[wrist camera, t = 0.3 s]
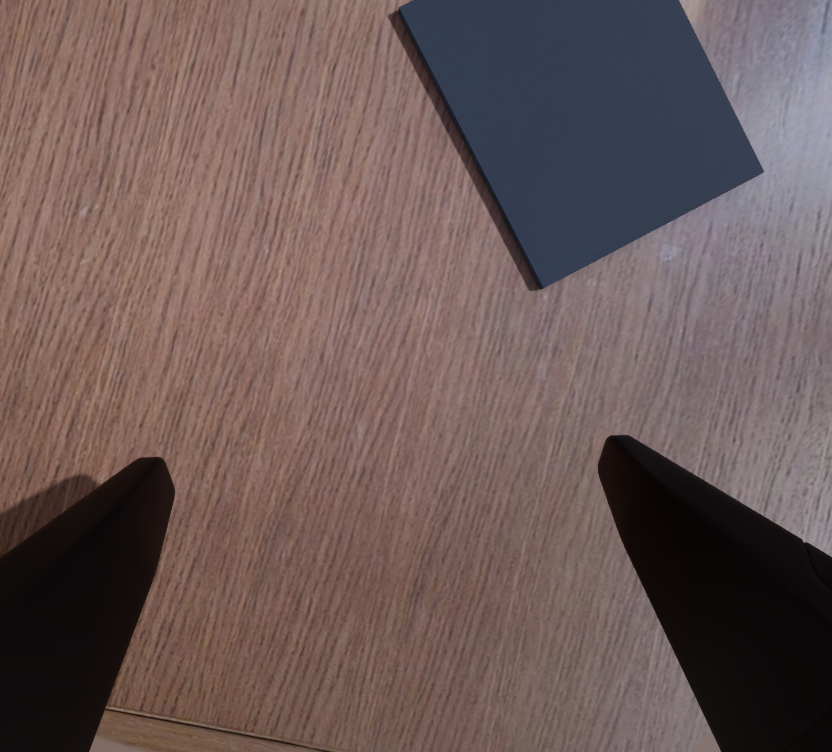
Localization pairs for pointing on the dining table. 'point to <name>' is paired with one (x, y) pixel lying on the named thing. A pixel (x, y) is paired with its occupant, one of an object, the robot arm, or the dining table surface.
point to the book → (583, 117)
